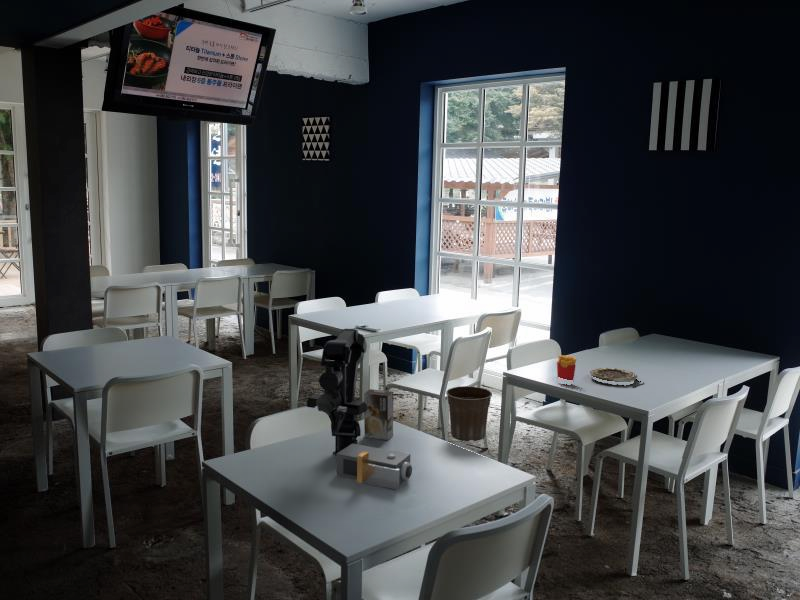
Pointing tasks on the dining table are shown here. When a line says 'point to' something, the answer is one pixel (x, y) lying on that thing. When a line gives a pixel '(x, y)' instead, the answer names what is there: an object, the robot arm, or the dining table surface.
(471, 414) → the plant pot
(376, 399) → the coffee box
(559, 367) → the french fries
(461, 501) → the dining table surface
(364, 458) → the orange and silver box
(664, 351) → the dining table surface
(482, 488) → the dining table surface
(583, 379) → the dining table surface
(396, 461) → the camera housing
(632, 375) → the pie
